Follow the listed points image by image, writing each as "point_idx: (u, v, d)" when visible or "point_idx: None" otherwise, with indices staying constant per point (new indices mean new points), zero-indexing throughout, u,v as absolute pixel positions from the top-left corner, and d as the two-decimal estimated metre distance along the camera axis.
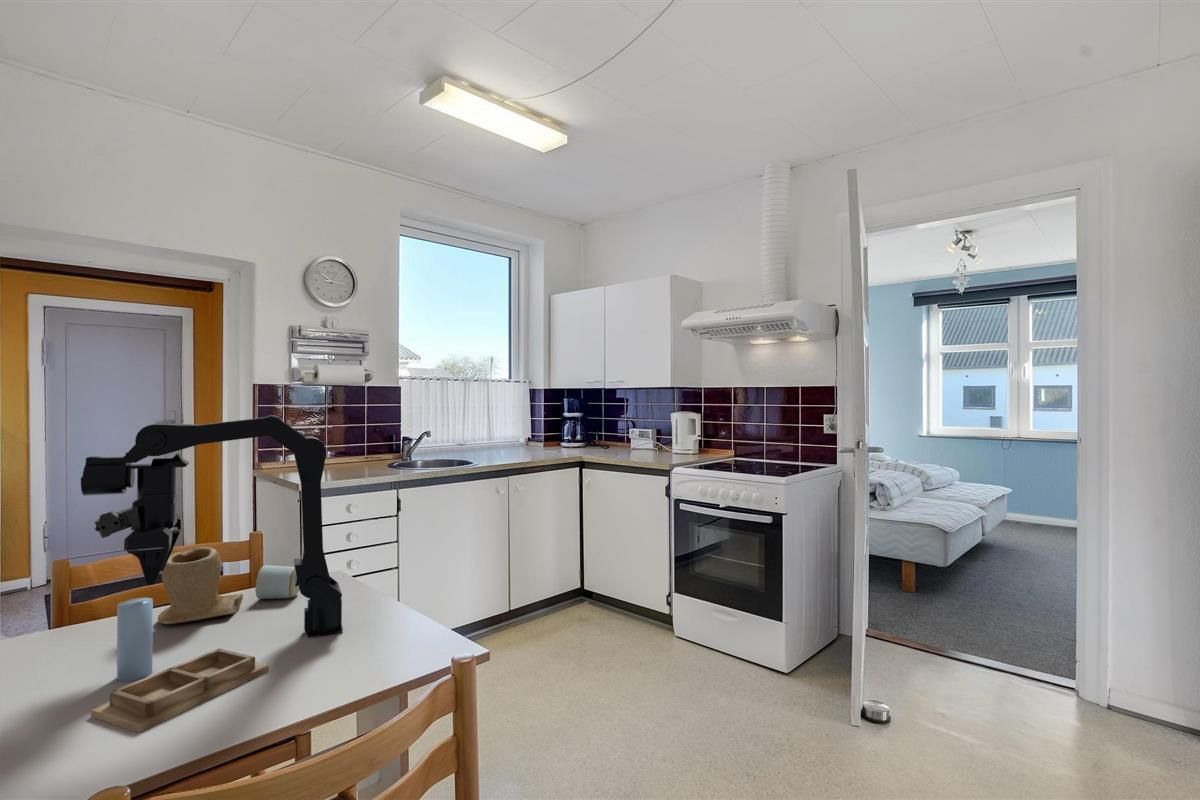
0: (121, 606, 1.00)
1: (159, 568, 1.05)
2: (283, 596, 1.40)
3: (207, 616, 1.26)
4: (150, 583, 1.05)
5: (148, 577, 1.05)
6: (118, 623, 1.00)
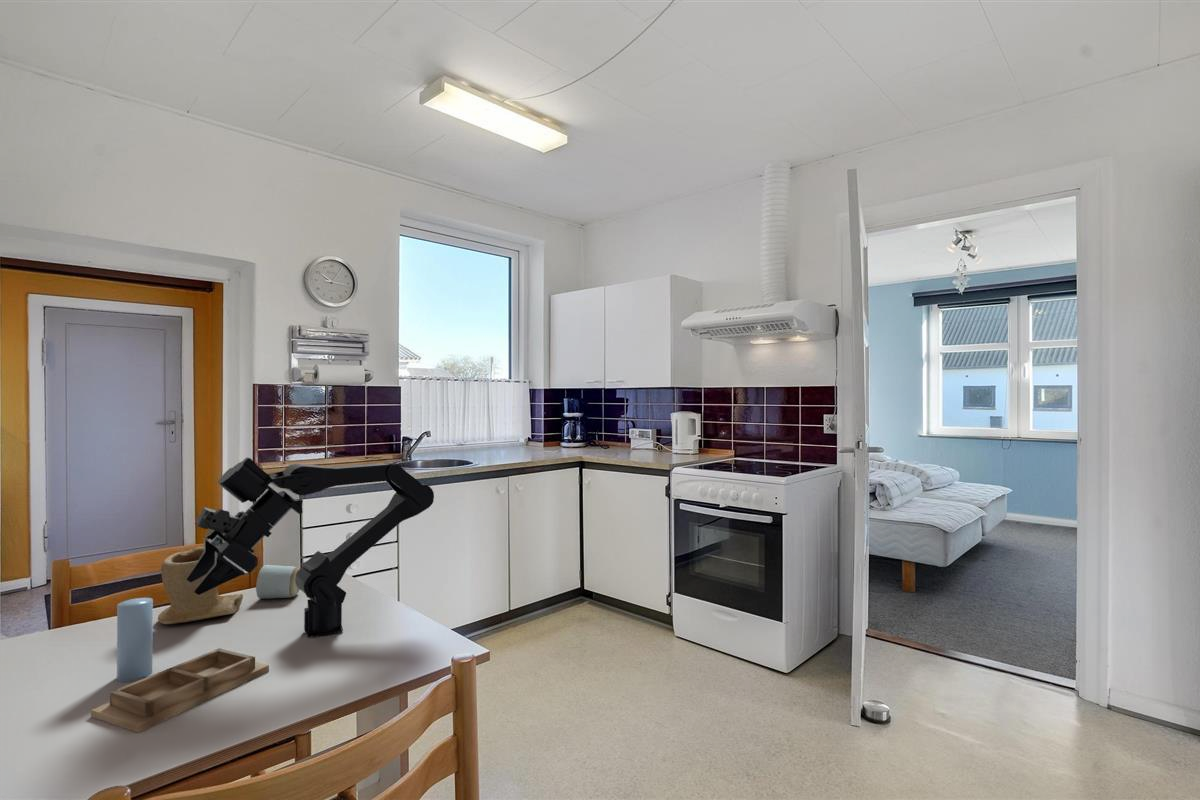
0: (121, 606, 1.00)
1: (217, 584, 1.05)
2: (284, 596, 1.40)
3: (207, 616, 1.26)
4: (197, 592, 1.04)
5: (202, 586, 1.04)
6: (118, 623, 1.00)
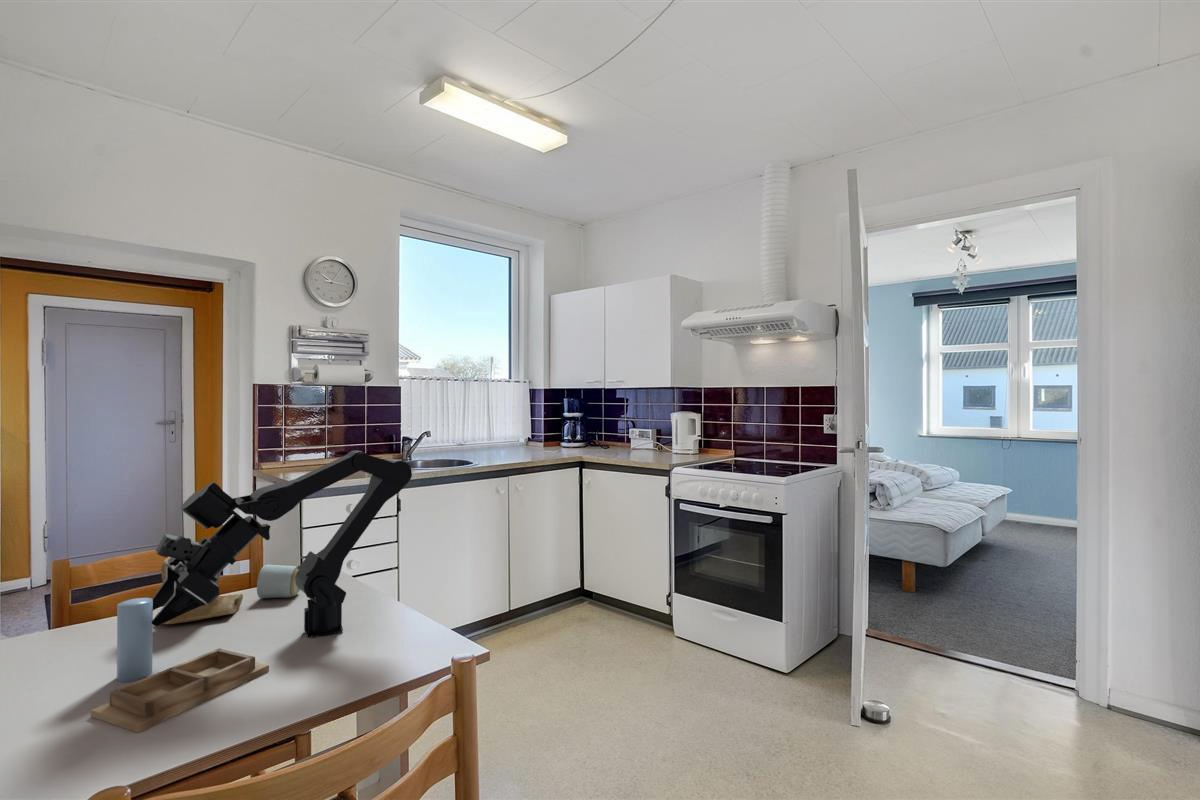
0: (121, 606, 1.00)
1: (176, 615, 1.02)
2: (284, 595, 1.41)
3: (207, 616, 1.26)
4: (155, 623, 1.00)
5: (160, 617, 1.00)
6: (118, 623, 1.00)
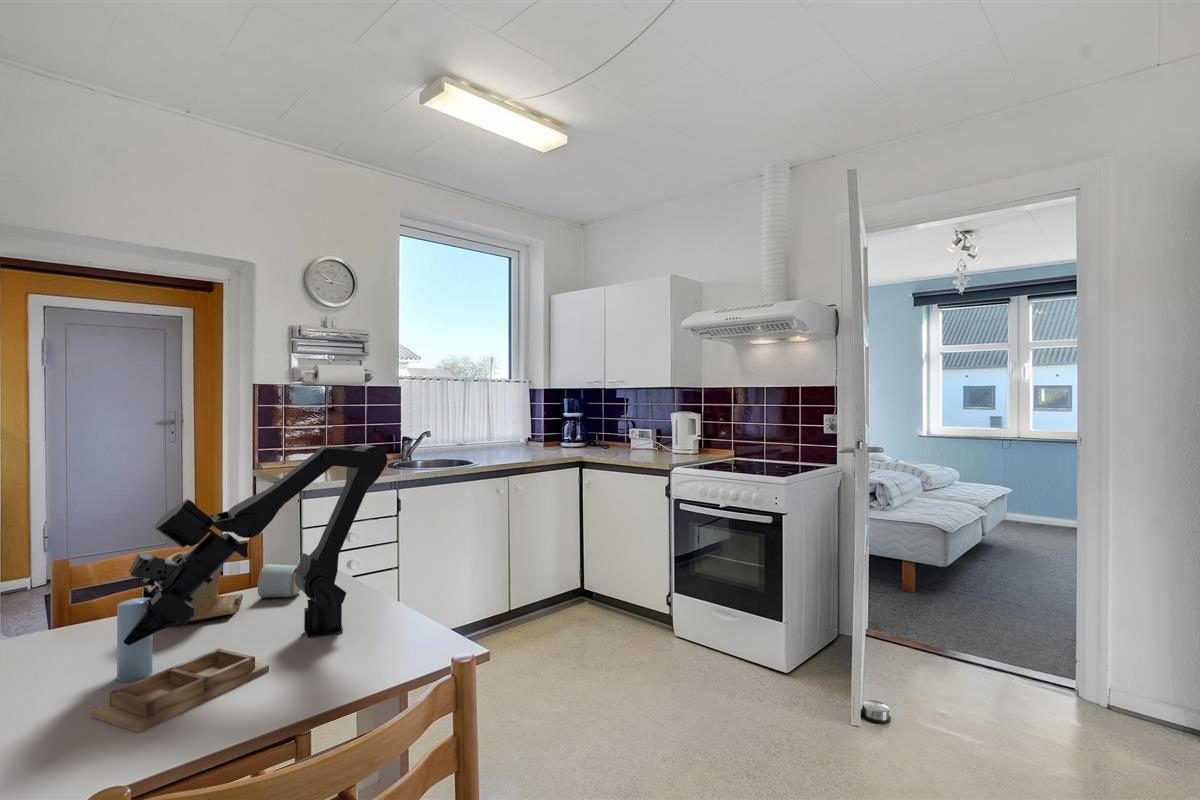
0: (121, 606, 1.00)
1: (149, 634, 1.01)
2: (285, 595, 1.41)
3: (207, 616, 1.26)
4: (127, 642, 0.99)
5: (132, 636, 1.00)
6: (118, 623, 1.00)
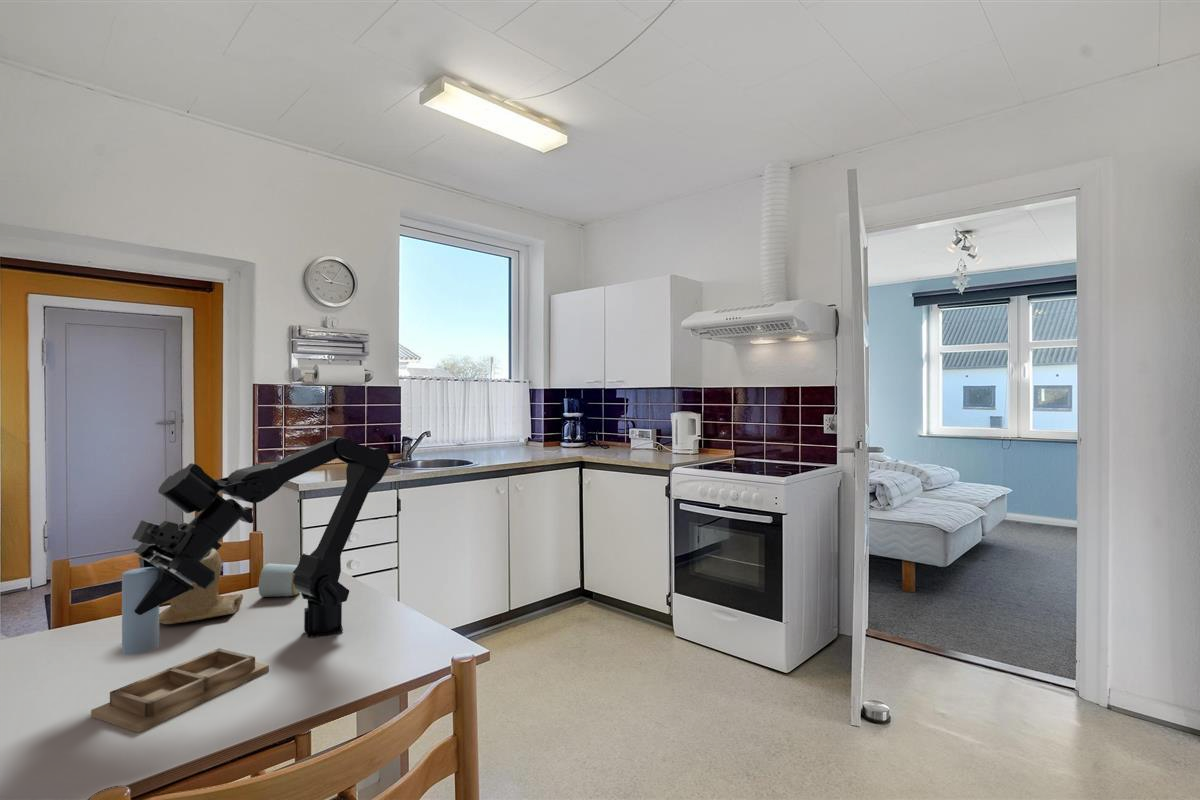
0: (129, 575, 0.95)
1: (162, 602, 0.96)
2: (286, 594, 1.42)
3: (207, 616, 1.26)
4: (138, 612, 0.94)
5: (145, 605, 0.95)
6: (126, 593, 0.95)
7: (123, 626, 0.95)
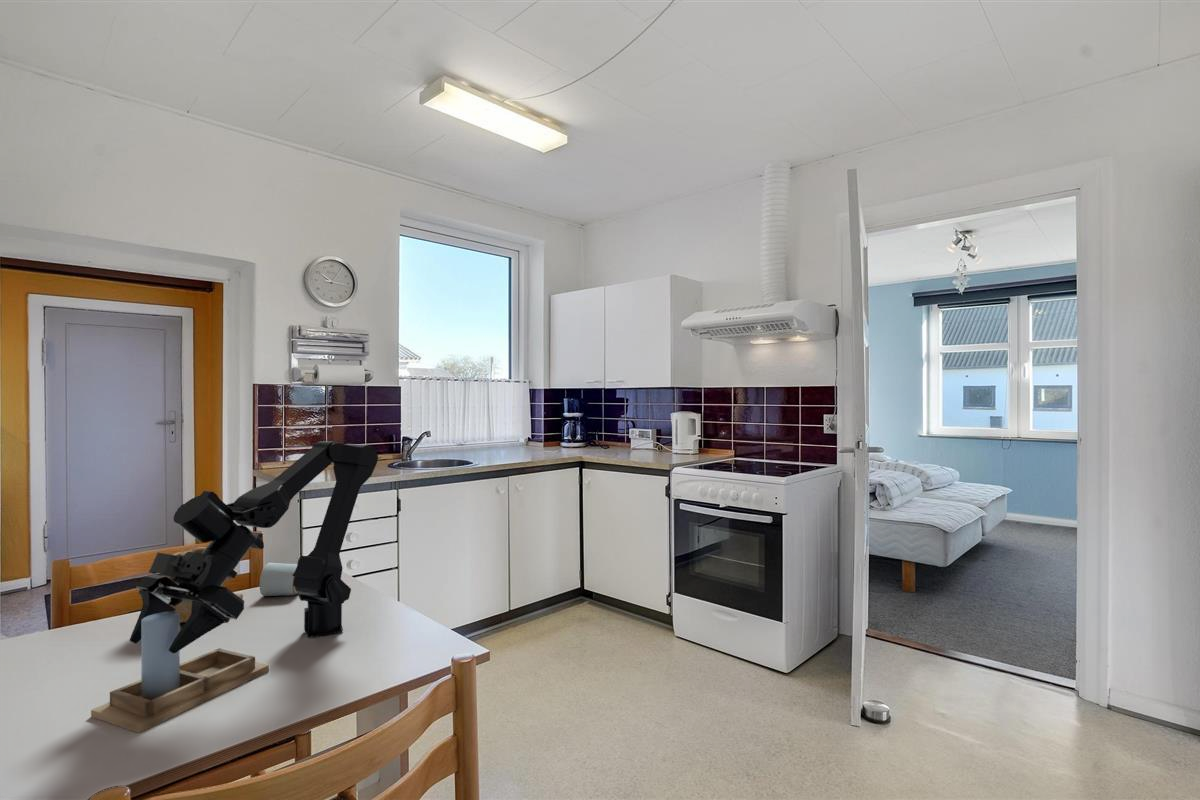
0: (152, 622, 0.91)
1: (196, 638, 0.92)
2: (287, 593, 1.42)
3: None
4: (173, 650, 0.90)
5: (180, 642, 0.91)
6: (149, 641, 0.91)
7: (145, 676, 0.91)
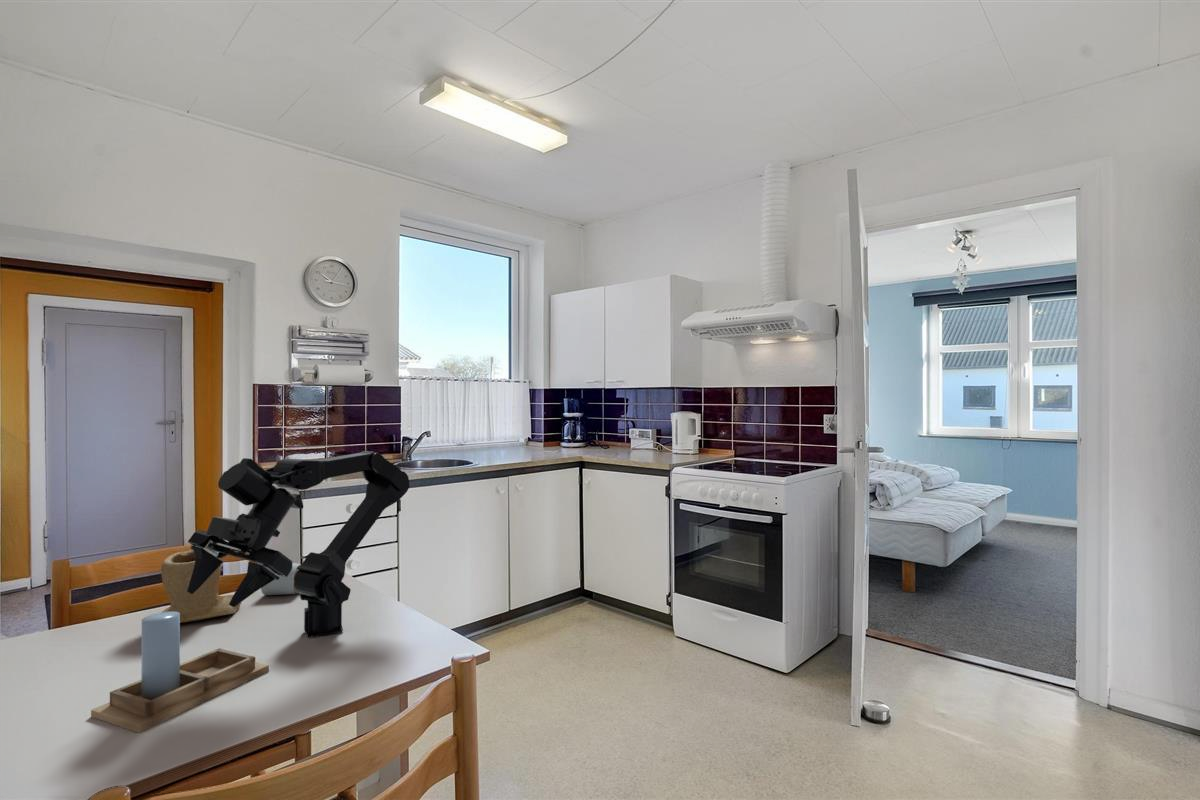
0: (152, 621, 0.91)
1: (251, 593, 1.03)
2: (288, 592, 1.43)
3: (207, 616, 1.26)
4: (233, 604, 1.01)
5: (238, 598, 1.01)
6: (149, 641, 0.91)
7: (145, 676, 0.91)
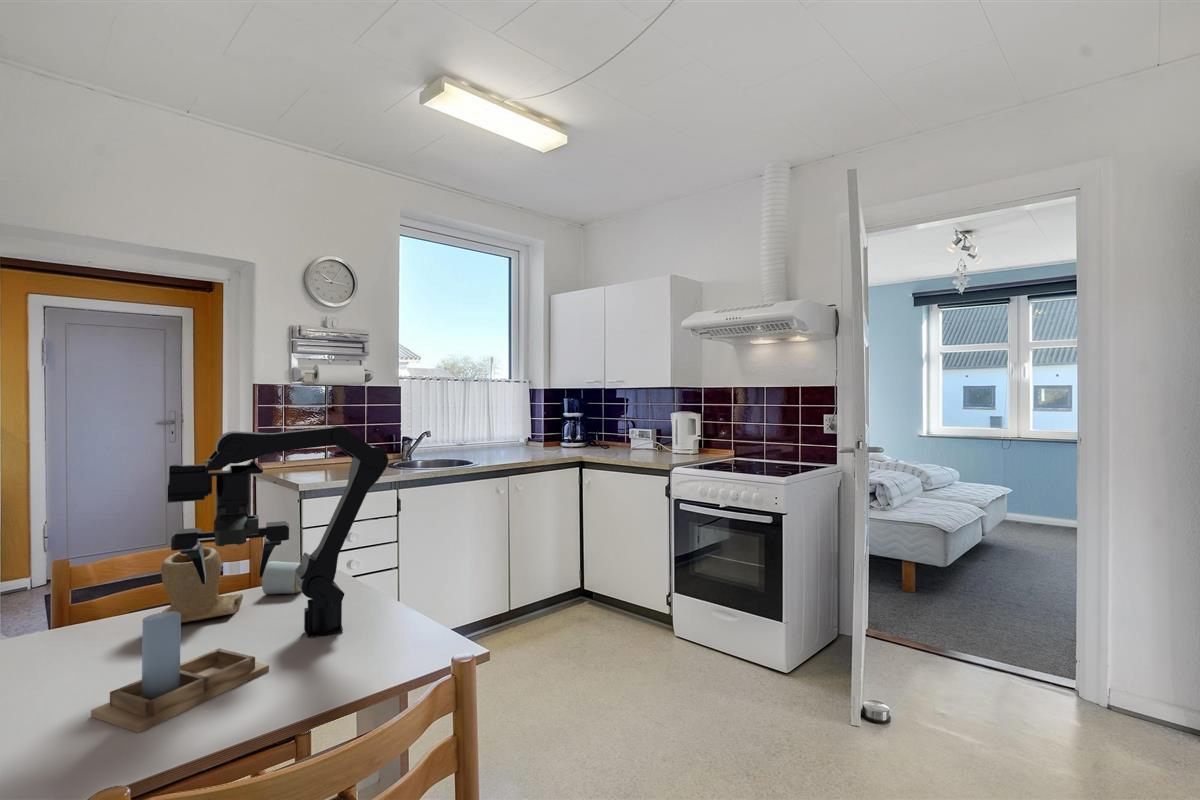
0: (153, 622, 0.91)
1: None
2: (289, 591, 1.44)
3: (207, 616, 1.26)
4: (262, 575, 1.16)
5: (264, 569, 1.16)
6: (150, 641, 0.91)
7: (145, 676, 0.91)
